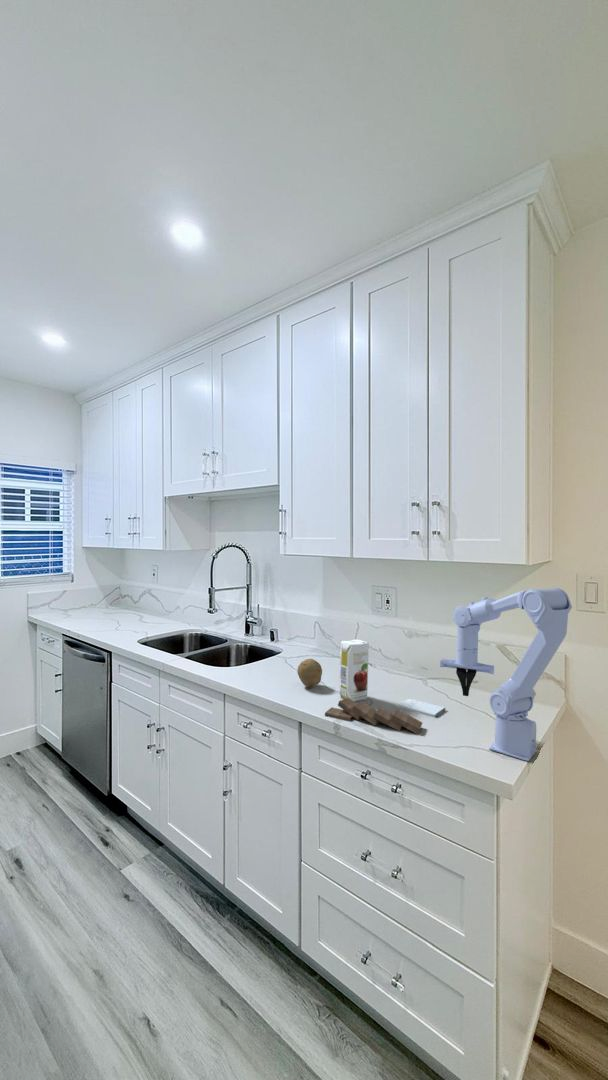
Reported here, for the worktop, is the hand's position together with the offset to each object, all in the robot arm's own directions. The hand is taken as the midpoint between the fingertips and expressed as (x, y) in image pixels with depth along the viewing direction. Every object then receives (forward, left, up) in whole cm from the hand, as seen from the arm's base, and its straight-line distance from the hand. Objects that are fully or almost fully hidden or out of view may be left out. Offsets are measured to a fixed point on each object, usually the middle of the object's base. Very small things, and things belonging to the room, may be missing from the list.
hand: (465, 695), depth 134 cm
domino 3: (+20, +15, -9) cm, 26 cm away
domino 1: (+28, +17, -9) cm, 33 cm away
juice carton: (+37, +2, -10) cm, 38 cm away
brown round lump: (+55, +3, -10) cm, 56 cm away
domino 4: (+13, +13, -9) cm, 20 cm away
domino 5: (+9, +11, -9) cm, 16 cm away
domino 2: (+25, +15, -8) cm, 30 cm away
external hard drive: (+16, -5, -10) cm, 20 cm away
